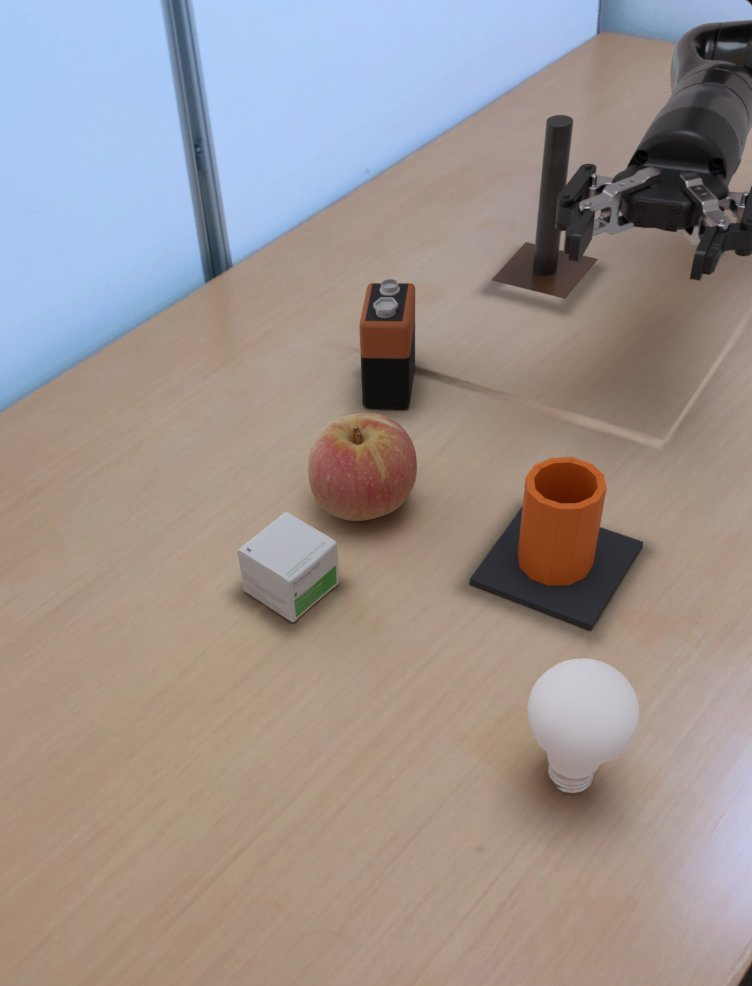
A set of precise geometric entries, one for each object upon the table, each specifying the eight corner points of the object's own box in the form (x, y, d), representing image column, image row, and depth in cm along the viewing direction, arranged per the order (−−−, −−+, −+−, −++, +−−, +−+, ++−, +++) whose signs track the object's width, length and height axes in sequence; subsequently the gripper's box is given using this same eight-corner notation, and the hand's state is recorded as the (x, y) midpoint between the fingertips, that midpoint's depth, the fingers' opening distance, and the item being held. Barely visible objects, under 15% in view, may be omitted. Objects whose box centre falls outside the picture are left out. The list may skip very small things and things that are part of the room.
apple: (431, 523, 90) (432, 447, 84) (329, 552, 89) (323, 477, 83) (394, 460, 96) (392, 384, 90) (297, 486, 95) (289, 411, 89)
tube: (603, 549, 86) (618, 471, 80) (574, 595, 83) (586, 518, 77) (537, 526, 88) (546, 448, 82) (506, 570, 85) (513, 493, 79)
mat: (642, 547, 86) (643, 541, 86) (590, 630, 81) (592, 625, 81) (525, 506, 91) (525, 501, 90) (469, 584, 86) (469, 578, 85)
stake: (596, 267, 113) (619, 109, 101) (564, 307, 109) (583, 147, 97) (524, 250, 116) (538, 95, 104) (490, 288, 112) (500, 131, 100)
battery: (361, 410, 101) (357, 315, 94) (370, 365, 105) (366, 271, 98) (409, 411, 100) (409, 315, 93) (415, 366, 105) (416, 272, 97)
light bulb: (574, 843, 70) (596, 743, 62) (497, 779, 74) (508, 677, 66) (641, 783, 73) (671, 679, 64) (563, 724, 76) (582, 619, 68)
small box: (293, 625, 85) (288, 582, 81) (241, 592, 87) (234, 548, 84) (342, 584, 87) (339, 539, 83) (290, 552, 90) (285, 507, 86)
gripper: (604, 96, 86) (539, 195, 77) (798, 113, 80) (752, 222, 71) (593, 188, 91) (531, 291, 82) (774, 211, 86) (729, 323, 77)
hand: (634, 259), depth 77 cm, fingers open, 8 cm apart
